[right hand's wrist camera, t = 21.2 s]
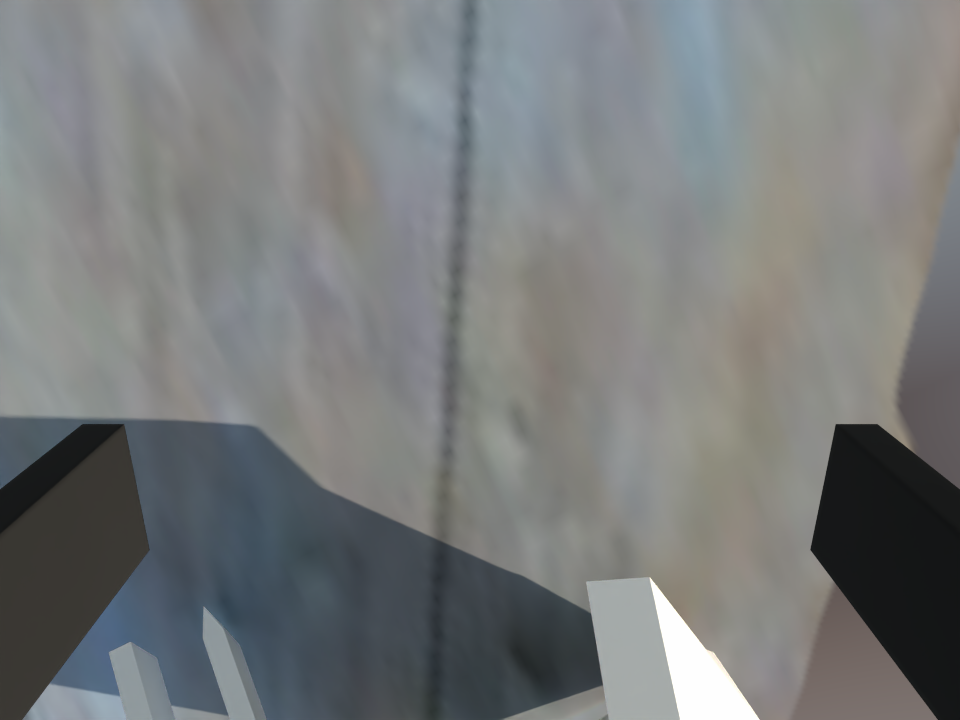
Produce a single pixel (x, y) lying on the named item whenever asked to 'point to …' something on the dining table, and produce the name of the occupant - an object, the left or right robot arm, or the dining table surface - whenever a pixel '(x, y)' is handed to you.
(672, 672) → the white plastic object
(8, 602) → the right robot arm
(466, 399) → the dining table surface
